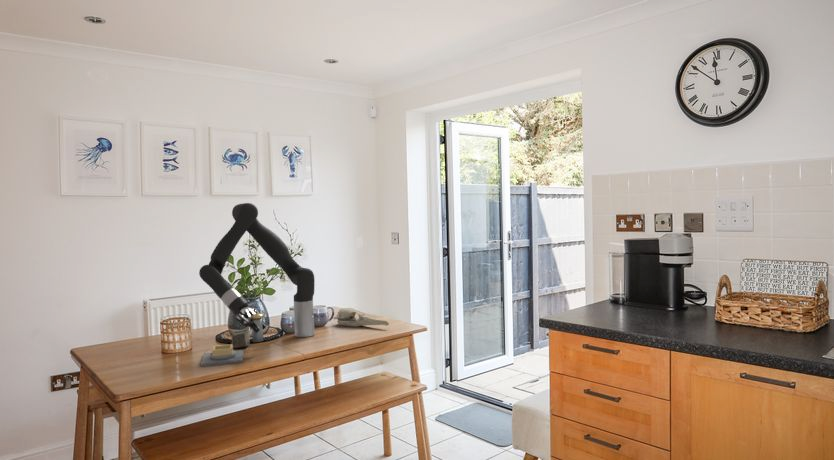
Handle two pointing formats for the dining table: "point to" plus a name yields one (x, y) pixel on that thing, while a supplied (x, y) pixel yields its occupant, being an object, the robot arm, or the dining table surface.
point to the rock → (241, 338)
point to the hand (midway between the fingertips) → (261, 329)
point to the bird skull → (348, 319)
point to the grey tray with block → (222, 356)
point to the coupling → (258, 321)
